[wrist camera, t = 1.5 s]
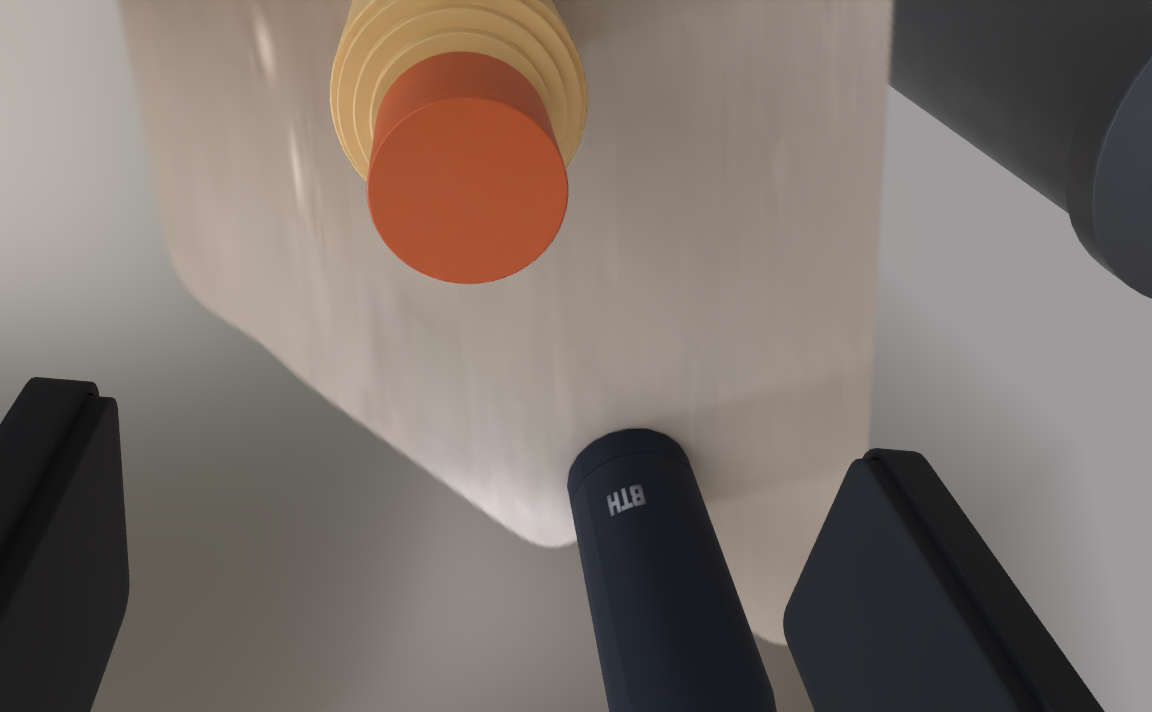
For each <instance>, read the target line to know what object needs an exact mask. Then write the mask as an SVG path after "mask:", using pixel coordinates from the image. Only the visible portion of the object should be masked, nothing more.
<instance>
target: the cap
mask: <svg viewBox="0 0 1152 712" xmlns="http://www.w3.org/2000/svg"><path fill="white" fill-rule="evenodd" d="M367 199H368V207H369V210H370V214H371V218H372V220H373V223H374V225H375V227H376V230H377V231H378V233H379V235H380V236H381V238H382V240H383V241H384V242H385V244H386V245H387V246H388V247H389V249H390V250H391V251H392V252H393V253H394V254H395V255H396V256H397V257H398V258H399V259H401V260H402V261H403V262H405V263H406V264H407V265H409V266H410V267H412V268H413V269H415V270H417V271H419V272H420V273H423V274H425V275H427V276H430V277H432V278H435V279H439V280H442V281H446V282H452V283H462V284H475V283H485V282H490V281H495V280H498V279H501V278H505V277H507V276H509V275H512V274H514V273H516V272H518V271H520V270H521V269H523V268H525V267H526V266H528V265H529V264H530V263H532V262H533V261H534V260H536V259H537V258H538V257H539V256H540V255H541V254H542V253H543V252H544V251H545V250H546V249H547V247H548V246H549V245H550V244H551V242H552V241H553V239H554V238H555V236H556V234H557V233H558V231H559V229H560V226H561V224H562V222H563V219H564V216H565V212H566V209H567V201H568V180H567V172H566V169H565V165H564V162H563V159H562V156H561V153H560V150H559V147H558V144H557V140H556V137H555V134H554V131H553V128H552V125H551V122H550V119H549V116H548V113H547V110H546V108H545V105H544V103H543V101H542V99H541V97H540V96H539V94H538V92H537V91H536V89H535V88H534V87H533V85H532V84H531V83H530V82H529V80H527V79H526V78H525V77H524V76H523V75H522V74H521V73H520V72H519V71H517V70H516V69H515V68H513V67H512V66H511V65H509V64H507V63H505V62H503V61H501V60H499V59H497V58H494V57H491V56H489V55H485V54H481V53H476V52H466V51H460V52H448V53H442V54H438V55H435V56H431V57H428V58H426V59H424V60H422V61H420V62H418V63H416V64H415V65H413V66H412V67H410V68H408V69H407V70H406V71H405V72H404V73H403V74H401V75H400V76H399V77H398V78H397V79H396V81H395V82H394V83H393V84H392V85H391V87H390V88H389V90H388V91H387V93H386V94H385V96H384V98H383V100H382V102H381V105H380V108H379V111H378V114H377V118H376V124H375V131H374V138H373V144H372V151H371V158H370V165H369V172H368V178H367Z"/></svg>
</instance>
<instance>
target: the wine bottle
mask: <svg viewBox="0 0 1152 712" xmlns="http://www.w3.org/2000/svg"><path fill="white" fill-rule="evenodd" d="M567 487H568V492H569V498H570V503H571V508H572V514H573V519H574V525H575V530H576V535H577V541H578V546H579V551H580V556H581V562H582V567H583V573H584V578H585V583H586V589H587V594H588V600H589V605H590V610H591V615H592V621H593V626H594V632H595V637H596V642H597V648H598V653H599V659H600V664H601V669H602V675H603V680H604V685H605V690H606V696H607V702H608V707H609V712H777V711H776V705H775V699H774V694H773V690H772V687H771V684H770V681H769V679H768V676H767V673H766V670H765V668H764V665H763V662H762V659H761V657H760V654H759V651H758V649H757V646H756V643H755V640H754V638H753V635H752V632H751V629H750V627H749V624H748V621H747V618H746V616H745V613H744V610H743V607H742V605H741V602H740V599H739V597H738V594H737V591H736V588H735V586H734V583H733V580H732V577H731V575H730V572H729V569H728V566H727V564H726V561H725V558H724V556H723V553H722V550H721V547H720V545H719V542H718V539H717V536H716V534H715V531H714V528H713V525H712V523H711V520H710V517H709V514H708V512H707V509H706V506H705V504H704V501H703V498H702V495H701V493H700V490H699V487H698V484H697V482H696V479H695V476H694V473H693V471H692V468H691V465H690V463H689V460H688V457H687V456H686V454H685V453H684V451H683V450H682V448H681V447H680V445H679V444H678V443H676V442H675V441H673V440H672V439H671V438H669V437H668V436H666V435H664V434H661V433H658V432H654V431H651V430H643V429H627V430H623V431H619V432H615V433H610V434H608V435H606V436H604V437H602V438H600V439H598V440H596V441H594V442H592V443H591V444H590V445H589V446H588V447H587V448H586V449H585V450H583V451H582V452H581V453H580V454H579V455H578V457H577V458H576V460H575V462H574V464H573V465H572V467H571V469H570V472H569V478H568V484H567Z"/></svg>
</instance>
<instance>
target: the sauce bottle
mask: <svg viewBox="0 0 1152 712" xmlns="http://www.w3.org/2000/svg"><path fill="white" fill-rule="evenodd" d="M460 51H466V52H476V53H481V54H485V55H489V56H491V57H494V58H497V59H499V60H501V61H503V62H505V63H507V64H509V65H511V66H512V67H513V68H515V69H516V70H517V71H519V72H520V73H521V74H522V75H523V76H524V77H525V78H526V79H527V80H529V82H530V83H531V84H532V85H533V87H534V88H535V89H536V91H537V92H538V94H539V96H540V97H541V99H542V101H543V103H544V105H545V108H546V110H547V113H548V116H549V119H550V122H551V125H552V128H553V131H554V134H555V137H556V140H557V144H558V147H559V150H560V153H561V156H562V159H563V162H564V165H565V169H566V168H567V166H568V164H569V163H570V161H571V159H572V158H573V156H574V154H575V152H576V149H577V147H578V144H579V142H580V140H581V136H582V132H583V129H584V125H585V119H586V112H587V88H586V80H585V74H584V70H583V66H582V62H581V59H580V57H579V54H578V52H577V49H576V47H575V44H574V42H573V40H572V38H571V36H570V34H569V32H568V30H567V28H566V26H565V24H564V22H563V20H562V18H561V16H560V14H559V12H558V10H557V8H556V6H555V4H554V2H553V0H353V2H352V5H351V8H350V11H349V14H348V18H347V21H346V24H345V27H344V30H343V33H342V37H341V40H340V43H339V46H338V49H337V53H336V56H335V60H334V63H333V67H332V73H331V81H330V105H331V112H332V119H333V123H334V126H335V130H336V133H337V136H338V138H339V141H340V143H341V145H342V148H343V150H344V152H345V153H346V155H347V157H348V159H349V160H350V162H351V164H352V165H353V166H354V168H355V169H356V170H357V172H358V173H359V174H360V175H361V177H362V178H363V179H364V180H365V181H366V182H367V178H368V172H369V165H370V158H371V151H372V144H373V138H374V131H375V124H376V118H377V114H378V111H379V108H380V105H381V102H382V100H383V98H384V96H385V94H386V93H387V91H388V90H389V88H390V87H391V85H392V84H393V83H394V82H395V81H396V79H397V78H398V77H399V76H400V75H401V74H403V73H404V72H405V71H406V70H407V69H408V68H410V67H412V66H413V65H415V64H416V63H418V62H420V61H422V60H424V59H426V58H428V57H431V56H435V55H438V54H442V53H448V52H460Z"/></svg>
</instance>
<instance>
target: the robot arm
mask: <svg viewBox="0 0 1152 712" xmlns="http://www.w3.org/2000/svg"><path fill="white" fill-rule="evenodd" d="M128 568H129V567H128V552H127V537H126V523H125V508H124V494H123V478H122V463H121V448H120V433H119V420H118V408H117V403H116V400H115V399H114V398H112V397H99V392H98V388H97V386H96V384H95V383H93V382H88V381H76V380H64V379H52V378H40V377H34V378H31V379H30V380H29V381H28V382H27V384H26V385H25V387H24V388H23V390H22V391H21V393H20V394H19V396H18V397H17V399H16V400H15V402H14V404H13V405H12V407H11V408H10V410H9V411H8V413H7V414H6V416H5V418H4V419H3V421H2V422H1V424H0V712H90V711H91V708H92V705H93V702H94V699H95V697H96V694H97V691H98V688H99V685H100V683H101V680H102V677H103V674H104V671H105V669H106V666H107V663H108V660H109V657H110V655H111V652H112V649H113V646H114V643H115V640H116V638H117V635H118V632H119V629H120V626H121V624H122V620H123V618H124V615H125V611H126V606H127V602H128V595H129V569H128ZM783 628H784V635H785V638H786V641H787V644H788V646H789V649H790V651H791V653H792V656H793V658H794V661H795V664H796V666H797V668H798V671H799V673H800V676H801V678H802V681H803V683H804V686H805V688H806V690H807V693H808V696H809V698H810V701H811V703H812V706H813V708H814V711H815V712H1104V710H1103V709H1102V708H1101V706H1100V705H1099V703H1098V702H1097V700H1096V699H1095V698H1094V696H1093V695H1092V693H1091V692H1090V690H1089V689H1088V688H1087V686H1086V685H1085V683H1084V682H1083V681H1082V679H1081V678H1080V676H1079V675H1078V673H1077V672H1076V671H1075V669H1074V668H1073V667H1072V665H1071V664H1070V662H1069V661H1068V659H1067V658H1066V656H1065V655H1064V654H1063V652H1062V651H1061V649H1060V648H1059V647H1058V645H1057V644H1056V642H1055V641H1054V639H1053V638H1052V637H1051V635H1050V634H1049V632H1048V631H1047V630H1046V628H1045V627H1044V626H1043V624H1042V622H1041V621H1040V620H1039V618H1038V617H1037V615H1036V614H1035V613H1034V611H1033V610H1032V608H1031V607H1030V606H1029V604H1028V603H1027V601H1026V600H1025V598H1024V597H1023V596H1022V594H1021V593H1020V591H1019V590H1018V589H1017V587H1016V586H1015V584H1014V583H1013V582H1012V580H1011V579H1010V577H1009V576H1008V574H1007V573H1006V572H1005V570H1004V569H1003V567H1002V566H1001V564H1000V563H999V562H998V560H997V559H996V557H995V556H994V555H993V553H992V552H991V550H990V549H989V548H988V546H987V545H986V543H985V542H984V541H983V539H982V538H981V536H980V535H979V533H978V532H977V531H976V529H975V528H974V526H973V525H972V523H971V522H970V521H969V519H968V518H967V516H966V515H965V513H964V512H963V511H962V509H961V508H960V506H959V505H958V504H957V502H956V501H955V499H954V498H953V497H952V495H951V494H950V492H949V491H948V490H947V488H946V487H945V485H944V484H943V482H942V481H941V480H940V478H939V477H938V475H937V474H936V472H935V471H934V470H933V468H932V467H931V466H930V464H929V463H928V461H927V460H926V459H925V458H924V457H923V456H922V455H921V454H920V453H917V452H915V451H903V450H891V449H880V448H875V449H870V450H869V451H868V452H867V453H866V454H865V455H864V456H863V458H862V459H856V460H855V461H853V462H852V464H851V465H850V467H849V469H848V471H847V473H846V475H845V478H844V480H843V482H842V484H841V486H840V489H839V491H838V493H837V495H836V498H835V500H834V502H833V504H832V506H831V509H830V511H829V513H828V515H827V517H826V520H825V522H824V524H823V526H822V529H821V531H820V533H819V535H818V537H817V540H816V542H815V544H814V546H813V549H812V551H811V553H810V555H809V557H808V560H807V562H806V564H805V566H804V569H803V571H802V573H801V575H800V577H799V580H798V582H797V584H796V586H795V588H794V591H793V593H792V595H791V597H790V600H789V602H788V604H787V606H786V609H785V612H784V619H783Z"/></svg>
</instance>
